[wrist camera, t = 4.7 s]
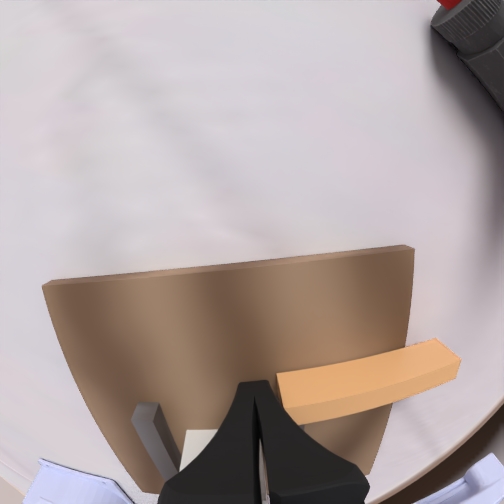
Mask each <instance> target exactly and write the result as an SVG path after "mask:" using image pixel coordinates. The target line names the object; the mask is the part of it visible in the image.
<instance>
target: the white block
mask: <svg viewBox="0 0 504 504" xmlns="http://www.w3.org/2000/svg"><path fill="white" fill-rule="evenodd" d="M217 431H218V429H213V430H187V431H186V436H185V442H184V448H183V453H182V459H181V465H180V471H181V470H182V469H184V468H185V467H186V466H187V465H188V464H189V463H190V462H191V461H192V460H193V459H195V458H196V457H197V456H198V455H199V453H200V452H201V451H202V450H203V449H204V448H205V447H206V445H207V444H208V443H209V442H210V440H211V439H212V438H213V436H214V435H215V434H216V432H217ZM180 471H179V472H180ZM259 475H260V486H261V495H262V504H268V497H267V488H266V479H265V470H264V461H263V454H262V447H261V441H260V453H259Z"/></svg>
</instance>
